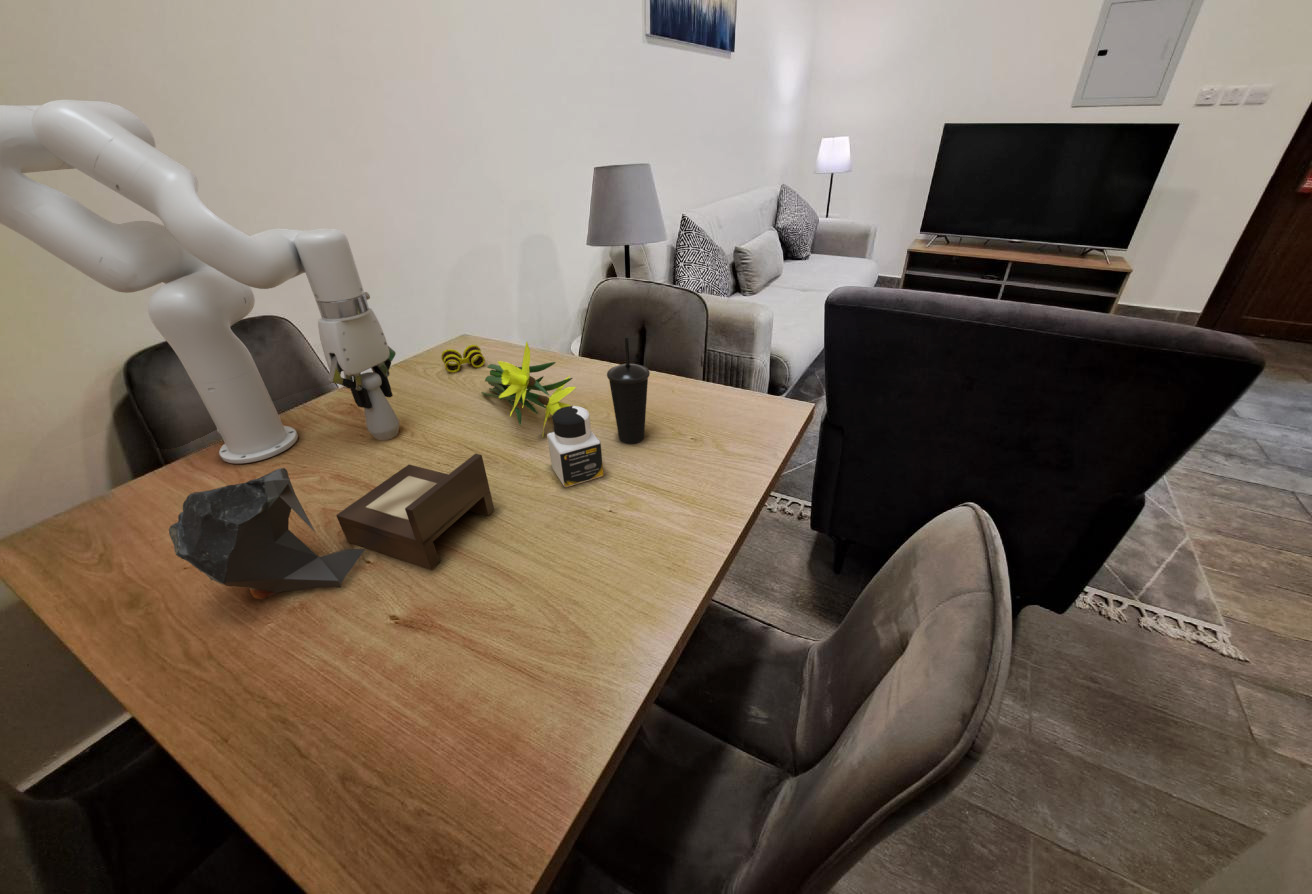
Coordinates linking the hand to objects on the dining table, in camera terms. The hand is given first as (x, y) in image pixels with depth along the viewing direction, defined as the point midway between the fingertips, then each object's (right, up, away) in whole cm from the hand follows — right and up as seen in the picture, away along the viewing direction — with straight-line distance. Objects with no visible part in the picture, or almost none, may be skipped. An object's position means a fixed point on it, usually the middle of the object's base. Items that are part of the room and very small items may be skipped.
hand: (375, 400), depth 101 cm
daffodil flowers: (+25, -3, +10) cm, 27 cm away
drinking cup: (+49, -7, +1) cm, 49 cm away
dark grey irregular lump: (+4, -28, -29) cm, 40 cm away
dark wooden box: (+18, -21, -20) cm, 34 cm away
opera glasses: (+5, +11, +33) cm, 35 cm away
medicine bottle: (+40, -13, -8) cm, 43 cm away
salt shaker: (0, -7, +4) cm, 8 cm away
